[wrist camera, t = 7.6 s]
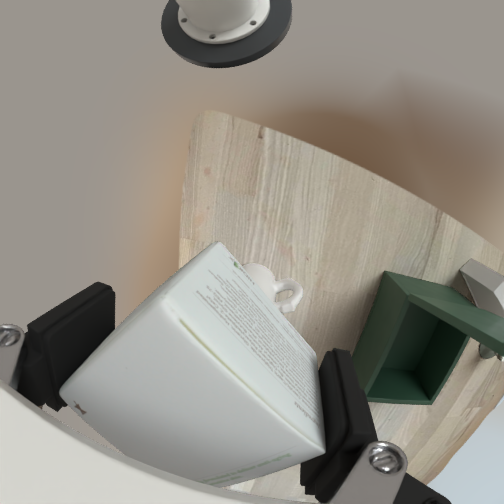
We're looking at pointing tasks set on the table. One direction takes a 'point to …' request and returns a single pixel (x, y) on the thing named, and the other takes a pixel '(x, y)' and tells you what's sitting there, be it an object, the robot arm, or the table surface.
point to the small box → (205, 379)
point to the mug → (275, 286)
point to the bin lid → (467, 320)
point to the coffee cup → (489, 353)
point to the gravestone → (485, 286)
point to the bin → (407, 343)
